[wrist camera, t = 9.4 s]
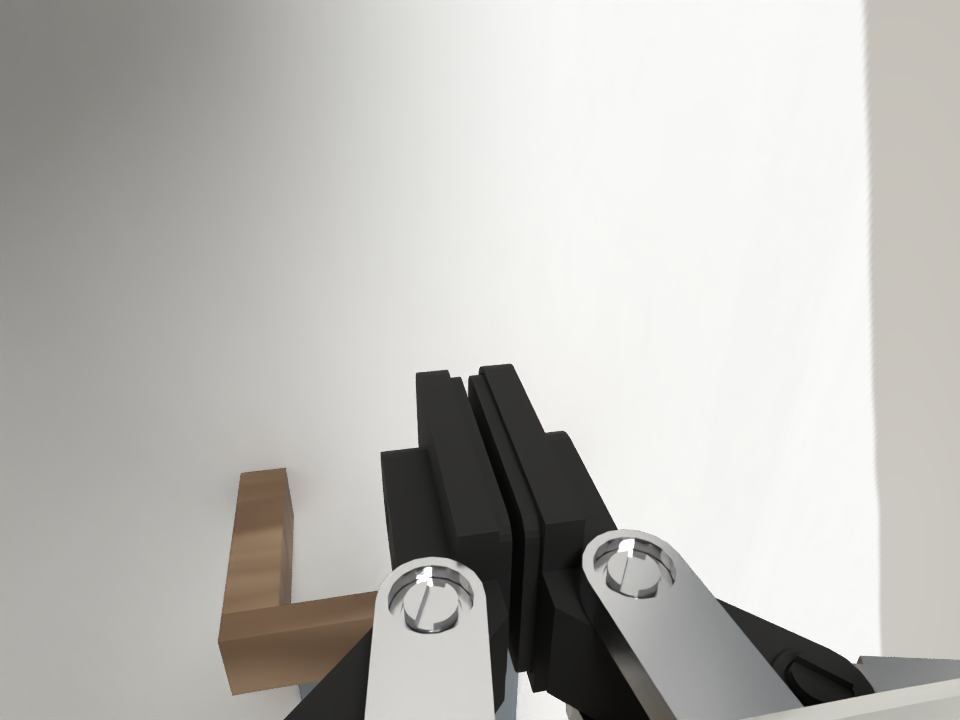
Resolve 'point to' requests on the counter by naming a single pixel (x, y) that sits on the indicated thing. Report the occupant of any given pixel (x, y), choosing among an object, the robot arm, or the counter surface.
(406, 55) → the counter surface
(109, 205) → the counter surface
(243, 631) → the bridge
